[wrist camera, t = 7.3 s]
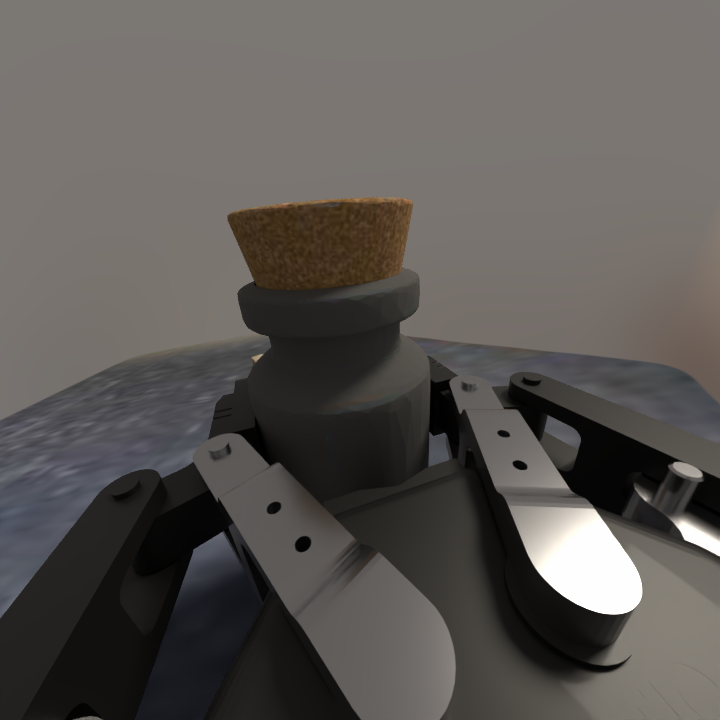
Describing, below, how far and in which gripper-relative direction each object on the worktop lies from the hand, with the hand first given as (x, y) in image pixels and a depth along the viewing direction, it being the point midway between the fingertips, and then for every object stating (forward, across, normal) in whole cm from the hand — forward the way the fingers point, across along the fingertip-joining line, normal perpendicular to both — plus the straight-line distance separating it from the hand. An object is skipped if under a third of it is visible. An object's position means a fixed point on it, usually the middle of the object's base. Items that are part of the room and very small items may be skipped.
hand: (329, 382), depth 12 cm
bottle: (-2, 0, +9) cm, 9 cm away
